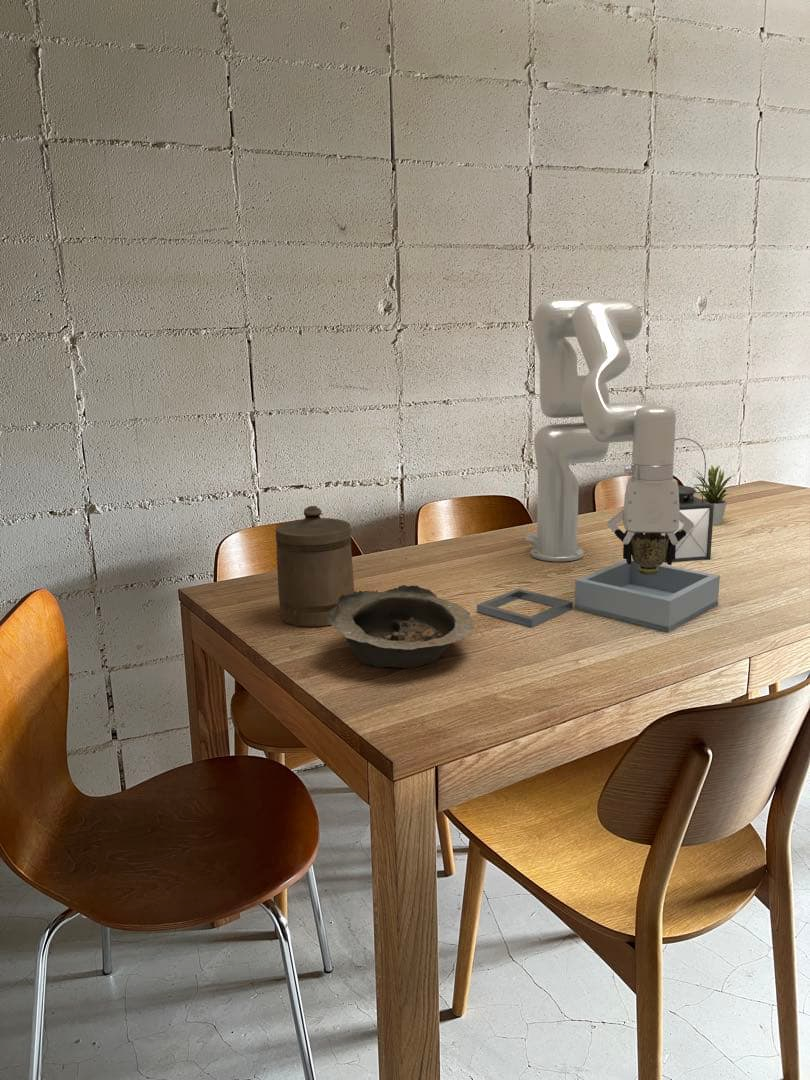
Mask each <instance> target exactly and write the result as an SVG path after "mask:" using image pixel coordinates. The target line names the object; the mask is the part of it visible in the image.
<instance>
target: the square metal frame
mask: <svg viewBox="0 0 810 1080" xmlns="http://www.w3.org/2000/svg"><path fill="white" fill-rule="evenodd" d="M517 599H522V600H526V601H529V602H533V603H538V604H541V605H545V606H549V608H547V609H545V610H543V611H540V612H539V613H535V614H534V615H531V616H529V615H526V614H522V613H519V612H514V611H511V610H507V609H504V608H500V606H503V605H505V604H508V603H510V602H513V601H515V600H517ZM573 606H574V603H573V601H571V600H567V599H563V598H558V597H555V596H550V595H546V594H542V593H537V592H534V591H530V590H526V589H521V588H516V589H513V590H511V591H507V592H506V593H504V594H501V595H499V596H495V597H493V598H490V599H488V600H486V601H483V602H480V603H477V604H476V612H477V613H479V614H483V615H485V616H490V617H493V618H497V619H501V620H503V621H508V622H512V623H514V624H519V625H522V626H526V627H529V628H534V627H537V626H538V625H541V624H543V623H545V622H547V621H549V620H552V619H553V618H556V617H558V616H560V615H562V614H564V613H565V614H566V613H568V612H569V611H572V610H573V609H574V608H573Z"/></svg>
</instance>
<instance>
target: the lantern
mask: <svg viewBox="0 0 810 1080" xmlns="http://www.w3.org/2000/svg"><path fill="white" fill-rule="evenodd" d="M677 440H687V441H691V442H693V443H695V444H696V445H698V447H699V448H700V449H701V452H702V454H703V459H704V476H703V478H704V482H703V483H704V484H703V486H702V489H703V490H702V491H703V492H704V491H705V488H704V485H705V482H706V473H707V472H706V471H707V470H706V469H707V468H706V466H707V465H706V464H707V463H706V461H707V460H706V454H705V451H704V449H703V448H702V446H701V445H700V444H699V443H698V442H696V441H694V440H693V439H690V438H685V437H681V438H675V441H677ZM678 490H679V511H680V512H681V513H682V514H683V515H685V516H686V517H687V518H688V519H689V520H690V521H692V522H693V524H694V527H693V528H692V529H691V530H690V531H689V532H688V533H687V534H686V536H685V537H683V538H682V539H681V540H680V541H679V542H678V544H677V545H676V552H675V560H672V563H679V562H680V563H681V562H692V561H693V562H694V561H704V560H705V561H710V560H711V556H712V555H711V554H712V540H713V511H714V504H712V503H709V502H706V501H704V500H703V499H704V495H703V493H702V495H701V498H699V497H697V496H694V494H696V493H697V492H698V490H696V488H694V487H692V486H689V485H688V486H687V485H678ZM683 526H684V524H683V523H682V522H681V521H680V520H679V528H678V530H677V531H679V530H680V529H681V528H682V527H683ZM677 531H675V532H674V534H675V533H676V532H677ZM665 534H666V533H661V535H664V537H665ZM663 563H665V564H667V562H666V559H665V561H664V562H663Z"/></svg>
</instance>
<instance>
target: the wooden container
mask: <svg viewBox="0 0 810 1080" xmlns="http://www.w3.org/2000/svg"><path fill="white" fill-rule="evenodd" d="M322 512H323V511H322V510H321V508H319V507H317V505H310V506H307V507H306V508H304V510H303V515H304V518H300V519H294V520H290V521H285V522H283V523H280V524H279V525H277V526H276V527H275V541H276V560H277V561H276V562H277V563H276V564H277V586H278V587H277V591H278V600H279V614H280V615H279V616H280V619H281V620H282V621H283V622H285V623H287V624H288V625H289V624H290V625H292V626H297V627H302V628H303V627H306V628H314V627H315V628H316V627H317V628H319V627H327V626H332V625H331V624H329V622H328V619H327V614H328V613H329V611H330V610H332V609H333V608H334V607H335V605H337V603H338V600H339V598H340V597H341V596H342V595H344V596H347V595H349V594H353V593H354V592H355V582H354V581H355V580H354V579H355V578H354V568H353V567H354V566H353V555H352V553H353V552H352V542H351V541H352V529H351V524H350V522H348V521H347V520H342V519H338V518H330V517H329V518H328V517H321V515H322Z"/></svg>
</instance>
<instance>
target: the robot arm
mask: <svg viewBox="0 0 810 1080" xmlns="http://www.w3.org/2000/svg"><path fill="white" fill-rule="evenodd" d="M532 321H533V322H532V329H533V337H534V341H535V345H536V348H537V352H538V356H539V403H540V408H541V409H540V410H541V411H542V414H544V416H545V417H547V418H551V419H552V418H553V419H564V418H565V419H566V418H580V417H581V418H582V421H583V422H574V423H573V422H569V423H568V422H567V423H555V424H548V425H545V426H543V427H541V428H540V429H538V431H537V432H535V433H536V434H535V435H534V440H533V447H534V448H533V449H534V455H535V460H536V470H537V471H536V472H537V529H536V530H537V533H532V532H529V533H528V534H527V535H526V537H525V542H526V543H529V544H533V547H532V548H530V555H531V557H532V558H535V559H538V560H541V561H547V562H557V563H559V562H560V563H561V562H564V563H565V562H571V561H578V560H580V559H581V558H583V557H584V553H585V552H584V549H583V548H581V547H579V546H578V526H579V525H578V524H579V523H578V521H579V519H578V518H579V482H578V478H577V477H576V475H575V473H574V472H573V471H572V470H571V468H570V465H577V464H587V463H589V464H590V463H597V462H600V461H602V460H603V459H604V458H606V456H607V454H608V450H609V445H610V443H611V444H612V443H624V442H625V443H626V442H627V443H628V442H632V454H631V455H632V458H631V464H630V465H628V466H624V468H623V473H624V474H628V475H630V476H631V477H630V478H629V477H628V479H627V482H626V488H625V492H624V499H623V500H624V501H623V509H622V510H621V511H620V512H619V513H617V514H616V515H615V516H613V517H612V518H611V519H609V520H607V522H606V523H607V527H608V528H609V529H610V530H611V532H613V534H614V535H615V536H616V537H617V538H618V539H619V540H620V541H621V542H622V543H623V544H622V545H623V547H622V558H623V560H625V559H626V561H627V564H631V559H632V545H631V541H630V540H631V539H632V537H633V535H634V533H643V534H645V533H667V535H668V537H669V544H668V550H667V555H666V562H667V563H666V565H667V566H672V565H673V564H672V563H673V562H672V560H675V552H676V545H677V544H678V542H679V541H680V540H681V539H682V538H683V537H685V536H686V534H687V533H688V532H689V531H690V530H691V529H692V528H693V527H694V524H693V522H692V521H690V520H689V519H688V518H687V517H686V516H685V515H683V514H682V513H681V512H680V511H679V490H678V486H679V484H678V480H677V479H675V478H674V459H675V441H676V440H675V439H676V420H677V419H676V417H677V415H676V411H675V410H674V409H673V408H672V407H670V406H663V405H662V406H661V405H657V404H656V403H653V402H649V401H640V402H639V401H638V402H637V401H636V402H618V403H617V402H615V403H610V393H609V390H608V386H607V383H608V382H610V381H612V380H613V379H616V378H617V377H619V376H620V375H621V374H623V373H624V372H625V371H626V370H627V369H628V367H629V365H630V364H631V359H632V358H631V354H630V352H629V350H628V347H627V344H626V342H625V341H632V340H634V339H636V338H637V337H638V335H640V333H641V329H642V325H643V316H642V313H641V311H640V309H639V307H638V306H637V304H636V303H635V302H634V301H633V300H630V299H621V298H615V297H609V296H608V297H605V296H602V297H601V296H597V297H596V296H593V297H592V296H588V297H576V296H575V297H558V298H552V299H547V300H545V301H542V302H540V304H539V305H537V307H536V310H534V315H533V320H532ZM567 338H576V339H577V341H578V344H579V347H580V349H581V352H582V354H583V357H584V360H585V363H586V365H587V367H588V371H589V372H588V373H587V375H586V374H585V375H579V374H578V357H577V353H576V350H575V349H574V347H573V346H572V344H571V343H570V341H569V340H568V339H567ZM679 520H680V521H681V522H682V523H683V524H684V526H683V527H682V528H681V529H680V530H679V531H677V530H678V528H679ZM620 522H622V524H623V527H624V529H625V531H624V532H623V530H622V529H621V528H619V526H617V525H618V524H620ZM675 531H677V532H676V533H675V534H674V532H675Z"/></svg>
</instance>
